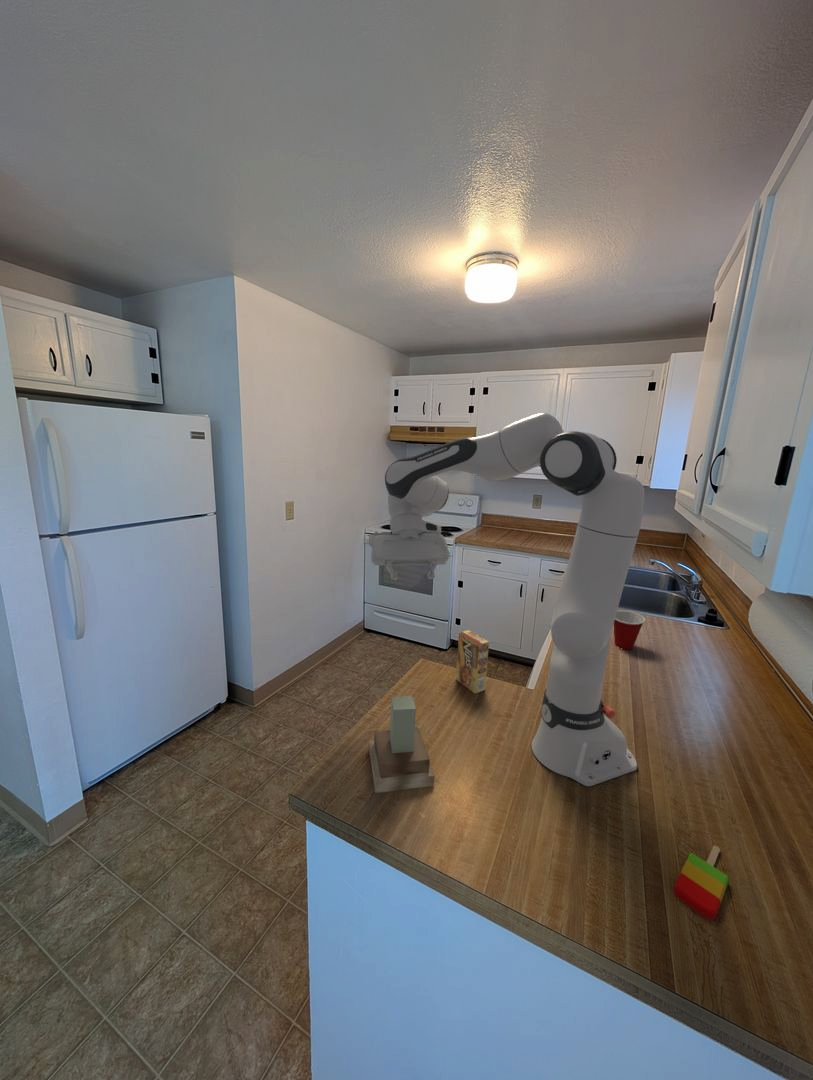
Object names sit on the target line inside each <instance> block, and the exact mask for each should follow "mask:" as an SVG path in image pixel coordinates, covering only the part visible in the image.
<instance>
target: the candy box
mask: <svg viewBox="0 0 813 1080" xmlns="http://www.w3.org/2000/svg"><path fill="white" fill-rule="evenodd" d="M489 647H490V641H489V640H487V639H485V638H483V637H482V636H480V635H478V634H477V633H475V632H473V631H471V630H469V629H467V630H464V631H461V632H458V640H457V655H456V656H457V658H456V674H455V680H457V681H458V682H459V683H460V684H462V685H463V686H464V687H466V688H467V689H468V690H469V691H471V692H472V693H473V694H475V695H476V694H479V693H481V692H483V691H485V690H486V686H487V685H486V684H487V673H488V660H489V659H488V658H489ZM472 674H473V675H472Z"/></svg>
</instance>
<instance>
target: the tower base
mask: <svg viewBox="0 0 813 1080" xmlns="http://www.w3.org/2000/svg"><path fill="white" fill-rule="evenodd" d="M368 753H369V760H370V767H371V773H372V779H373V785H374V793H375V794H376V793H377V794H379V793H386V792H393V791H402V790H411V789H417V788H425V787H433V786H435V773H434V770H433V767H432V763H430V765H429V772H424V773H417V774H409V775H402V776H394V777H387V778H381V777H380V772H379V766H378V761H377V756H376V751H375V746H374V739H373V740H368Z"/></svg>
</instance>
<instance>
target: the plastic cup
mask: <svg viewBox="0 0 813 1080" xmlns="http://www.w3.org/2000/svg"><path fill="white" fill-rule="evenodd" d="M645 622H646V618H645V617H644V616H643V615H642V614H639V613H637V612H633V611H629V610H617V613H616V617H615V621H614V624H613V635H614V636H613V637H614V646H615V645H616V646H618V647H619V649H621V648H622V649H621V650H624V649H627V650H626V651H631V650H632V649H633V647H634V646H635V644H636V642H637V639H638V636H639V634H640V631H641V629H642V626H643V625H644V623H645ZM616 646H615V647H616ZM618 647H617V648H618ZM630 649H631V650H630Z"/></svg>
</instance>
